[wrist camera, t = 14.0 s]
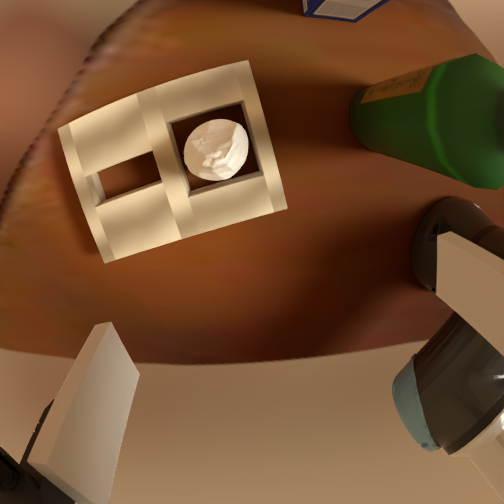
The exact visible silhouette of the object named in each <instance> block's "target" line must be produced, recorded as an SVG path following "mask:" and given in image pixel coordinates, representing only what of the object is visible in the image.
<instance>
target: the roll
mask: <svg viewBox="0 0 504 504" xmlns="http://www.w3.org/2000/svg"><path fill="white" fill-rule="evenodd" d="M247 153H248V137H247V134H246V131H245V130H244V128H243V127H242V126H241V125H240V124H239V123H236V122H233V121H231V120H226V119H215V120H211V121H208V122H206V123H204V124H202V125H200V126H198V127H197V128H196V129H195V130H194V131H193V132H192V133H191V134H190V135H189V137H188V139H187V141H186V144H185V148H184V161H185V164H186V165H187V167H188V169H189V171H190V172H191V173H193V174H194V175H196V176H198V177H200V178H203V179H207V180H214V181H219V180H225V179H228V178H230V177H232V176H233V175H234V174H235V173H236V172H237V171H238V170H239V169H240V168H241V167H242V165H243V164H244V162H245V160H246V157H247Z"/></svg>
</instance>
